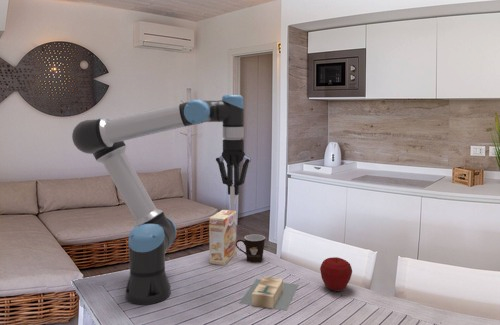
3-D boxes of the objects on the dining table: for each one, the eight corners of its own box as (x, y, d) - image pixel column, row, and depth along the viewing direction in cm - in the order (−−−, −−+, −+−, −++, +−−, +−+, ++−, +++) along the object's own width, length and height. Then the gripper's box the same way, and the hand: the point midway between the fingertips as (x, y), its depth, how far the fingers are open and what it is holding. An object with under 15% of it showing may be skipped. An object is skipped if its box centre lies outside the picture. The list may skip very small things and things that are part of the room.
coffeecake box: (224, 265, 167) (224, 219, 165) (208, 263, 169) (208, 217, 167) (237, 253, 181) (237, 210, 179) (222, 251, 183) (221, 209, 181)
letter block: (263, 287, 146) (251, 305, 133) (263, 276, 145) (251, 293, 132) (282, 290, 144) (272, 308, 131) (283, 279, 143) (272, 296, 130)
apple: (316, 292, 143) (317, 260, 141) (324, 280, 153) (324, 250, 151) (348, 298, 138) (349, 265, 137) (354, 286, 148) (355, 255, 147)
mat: (238, 304, 134) (238, 303, 134) (256, 280, 153) (256, 279, 153) (286, 311, 129) (286, 310, 129) (298, 285, 148) (298, 284, 148)
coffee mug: (268, 259, 174) (268, 236, 173) (258, 265, 167) (258, 242, 166) (245, 254, 180) (245, 232, 179) (234, 260, 173) (234, 237, 172)
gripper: (253, 138, 147) (253, 202, 150) (220, 137, 151) (220, 200, 154) (247, 140, 140) (247, 207, 143) (212, 139, 144) (212, 204, 147)
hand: (233, 203), depth 149 cm, fingers closed
